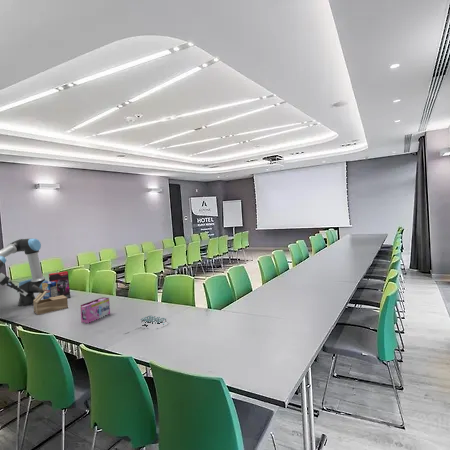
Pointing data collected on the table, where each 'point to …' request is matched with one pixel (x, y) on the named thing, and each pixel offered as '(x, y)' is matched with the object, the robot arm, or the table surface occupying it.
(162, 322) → the grey bumpy mound
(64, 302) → the carton
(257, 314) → the table surface
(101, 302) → the gum box
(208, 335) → the table surface
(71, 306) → the table surface
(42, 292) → the flap
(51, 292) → the beverage box
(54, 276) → the graphics card box
